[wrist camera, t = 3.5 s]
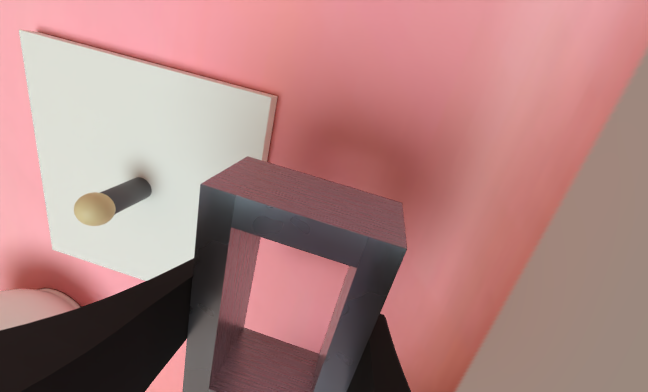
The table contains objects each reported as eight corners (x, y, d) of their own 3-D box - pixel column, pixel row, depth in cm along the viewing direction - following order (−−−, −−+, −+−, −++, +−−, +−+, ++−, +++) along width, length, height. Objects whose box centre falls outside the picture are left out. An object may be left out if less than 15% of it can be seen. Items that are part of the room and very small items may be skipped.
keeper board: (244, 302, 23) (205, 363, 18) (65, 242, 24) (-16, 285, 19) (277, 96, 17) (233, 105, 12) (37, 31, 18) (-90, 16, 13)
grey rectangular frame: (335, 376, 14) (322, 449, 11) (221, 335, 15) (182, 396, 12) (402, 202, 10) (406, 248, 8) (247, 156, 11) (200, 183, 8)
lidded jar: (69, 254, 25) (-100, 351, 16) (136, 355, 28) (23, 481, 19) (-14, 276, 28) (-194, 367, 19) (54, 365, 31) (-74, 477, 22)
